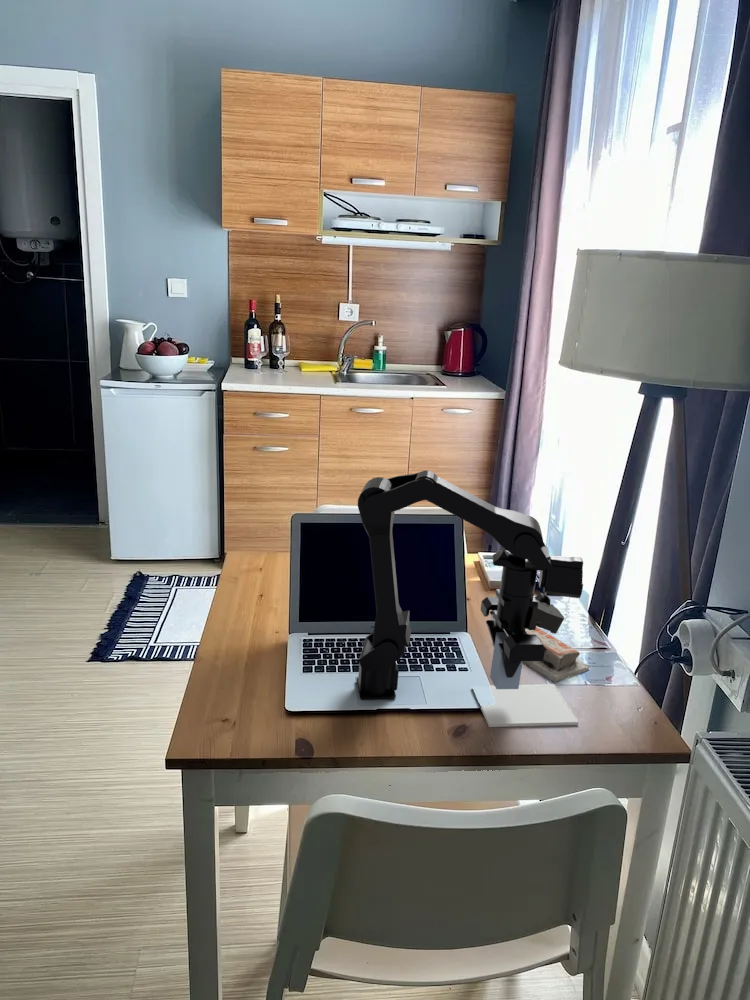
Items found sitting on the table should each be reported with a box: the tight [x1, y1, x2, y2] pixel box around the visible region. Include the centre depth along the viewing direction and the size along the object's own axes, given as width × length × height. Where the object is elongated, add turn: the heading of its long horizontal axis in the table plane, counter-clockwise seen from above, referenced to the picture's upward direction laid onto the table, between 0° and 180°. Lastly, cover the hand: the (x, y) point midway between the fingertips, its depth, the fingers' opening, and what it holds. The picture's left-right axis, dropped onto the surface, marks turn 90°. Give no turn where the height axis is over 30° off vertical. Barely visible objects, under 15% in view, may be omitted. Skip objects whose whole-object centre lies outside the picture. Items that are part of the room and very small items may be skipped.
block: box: [489, 632, 524, 689], centre depth 134 cm, size 4×4×9 cm
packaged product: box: [523, 626, 591, 683], centre depth 155 cm, size 18×5×10 cm
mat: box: [480, 683, 579, 728], centre depth 137 cm, size 16×12×1 cm
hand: (505, 670), depth 134 cm, fingers closed on block, 4 cm apart
